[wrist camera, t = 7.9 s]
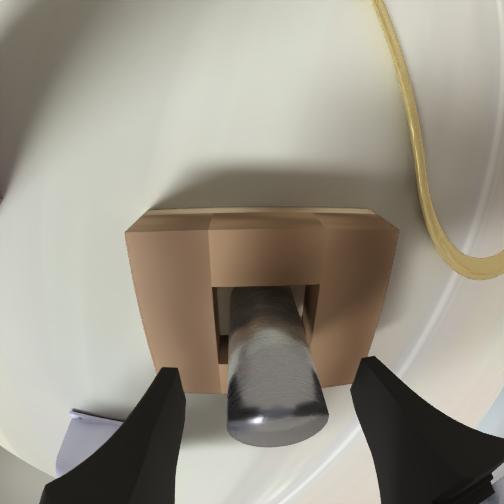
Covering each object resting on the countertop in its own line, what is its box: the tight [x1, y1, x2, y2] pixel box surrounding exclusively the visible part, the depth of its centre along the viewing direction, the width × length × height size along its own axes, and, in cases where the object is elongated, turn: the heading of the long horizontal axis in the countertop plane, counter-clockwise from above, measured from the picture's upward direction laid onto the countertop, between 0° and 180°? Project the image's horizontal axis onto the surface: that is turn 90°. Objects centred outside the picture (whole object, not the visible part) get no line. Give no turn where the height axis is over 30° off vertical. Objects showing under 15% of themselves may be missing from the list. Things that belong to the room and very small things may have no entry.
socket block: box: [125, 207, 399, 394], centre depth 15 cm, size 12×10×4 cm
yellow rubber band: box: [371, 0, 504, 280], centre depth 10 cm, size 19×35×2 cm, turn 15°
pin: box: [227, 285, 329, 447], centre depth 12 cm, size 4×4×8 cm
